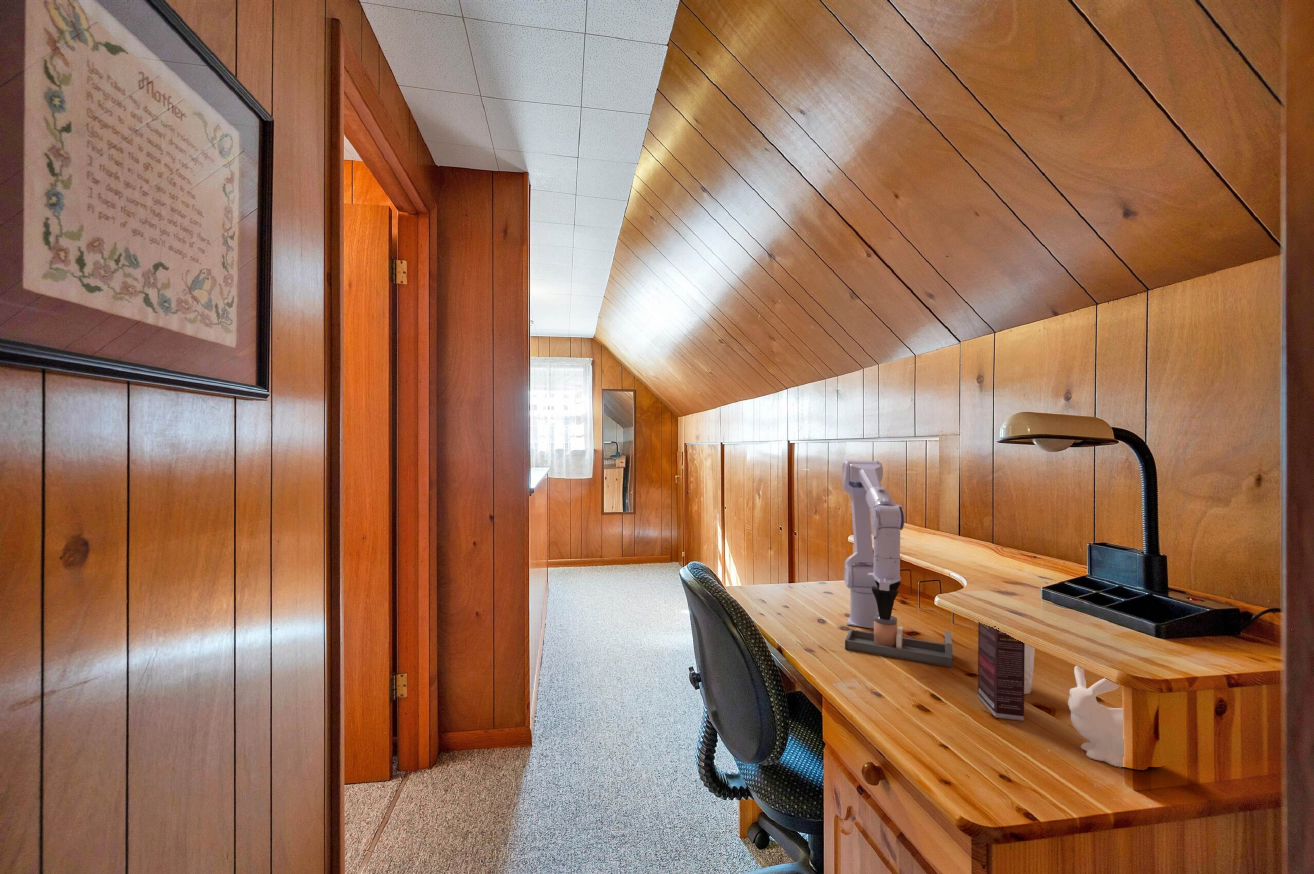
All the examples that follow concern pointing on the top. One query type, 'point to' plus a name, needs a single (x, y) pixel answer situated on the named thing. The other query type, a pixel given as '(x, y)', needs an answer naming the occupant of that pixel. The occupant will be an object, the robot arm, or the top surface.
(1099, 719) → the rabbit
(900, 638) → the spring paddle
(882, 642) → the jar
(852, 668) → the top surface
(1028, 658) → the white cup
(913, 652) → the tray
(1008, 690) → the supplement box
